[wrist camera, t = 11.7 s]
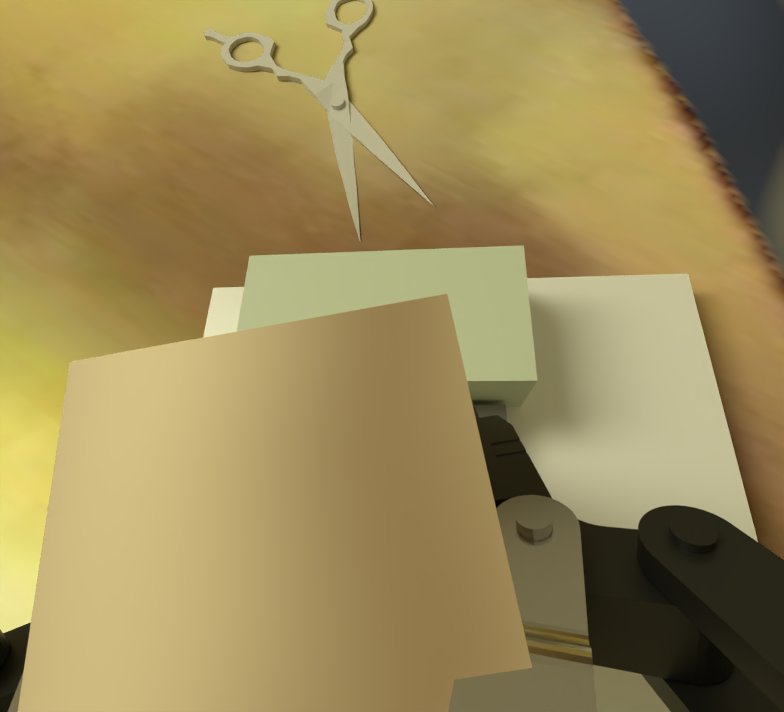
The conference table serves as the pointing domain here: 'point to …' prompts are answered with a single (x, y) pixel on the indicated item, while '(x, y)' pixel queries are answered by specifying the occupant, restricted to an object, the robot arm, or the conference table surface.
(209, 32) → the scissors
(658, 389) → the board
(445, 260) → the pale green block
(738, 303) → the conference table surface
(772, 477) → the conference table surface
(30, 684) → the maple block
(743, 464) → the conference table surface
